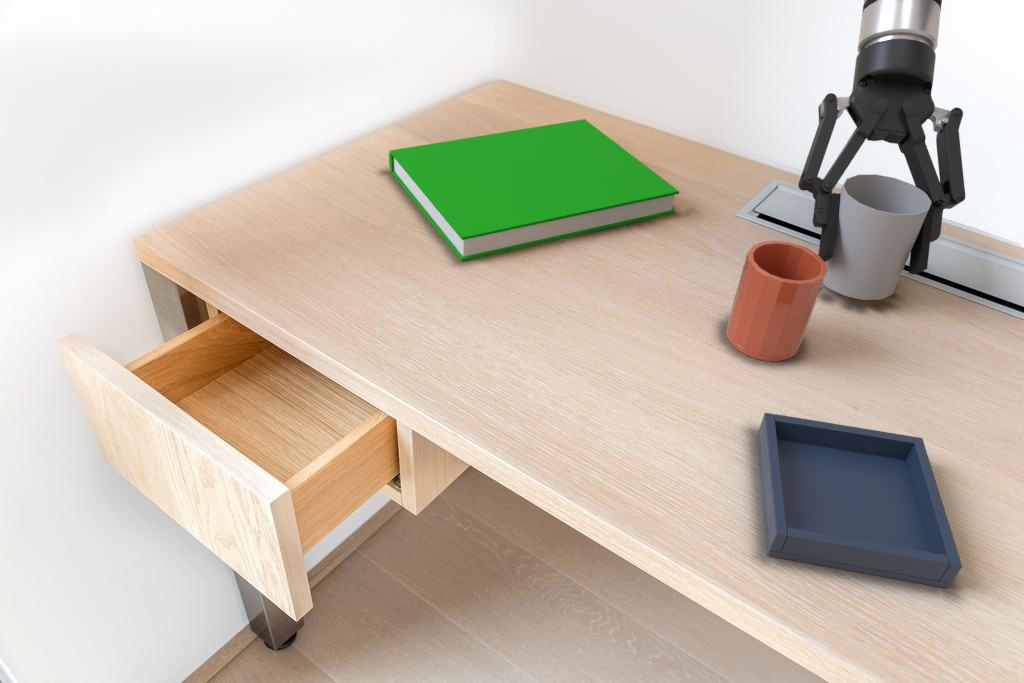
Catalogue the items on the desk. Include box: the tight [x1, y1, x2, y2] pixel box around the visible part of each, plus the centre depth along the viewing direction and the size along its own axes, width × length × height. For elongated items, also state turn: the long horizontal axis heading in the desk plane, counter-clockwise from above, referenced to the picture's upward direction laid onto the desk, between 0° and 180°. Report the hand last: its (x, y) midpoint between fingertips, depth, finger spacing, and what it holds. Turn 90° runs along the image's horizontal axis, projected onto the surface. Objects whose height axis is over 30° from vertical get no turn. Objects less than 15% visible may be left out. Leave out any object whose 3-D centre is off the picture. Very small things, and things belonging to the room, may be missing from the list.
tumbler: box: [725, 240, 827, 362], centre depth 75 cm, size 7×7×9 cm
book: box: [388, 118, 680, 262], centre depth 97 cm, size 22×28×3 cm
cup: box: [823, 174, 932, 301], centre depth 82 cm, size 8×8×10 cm
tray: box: [756, 412, 963, 589], centre depth 61 cm, size 13×13×3 cm
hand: (871, 264), depth 80 cm, fingers closed on cup, 8 cm apart
